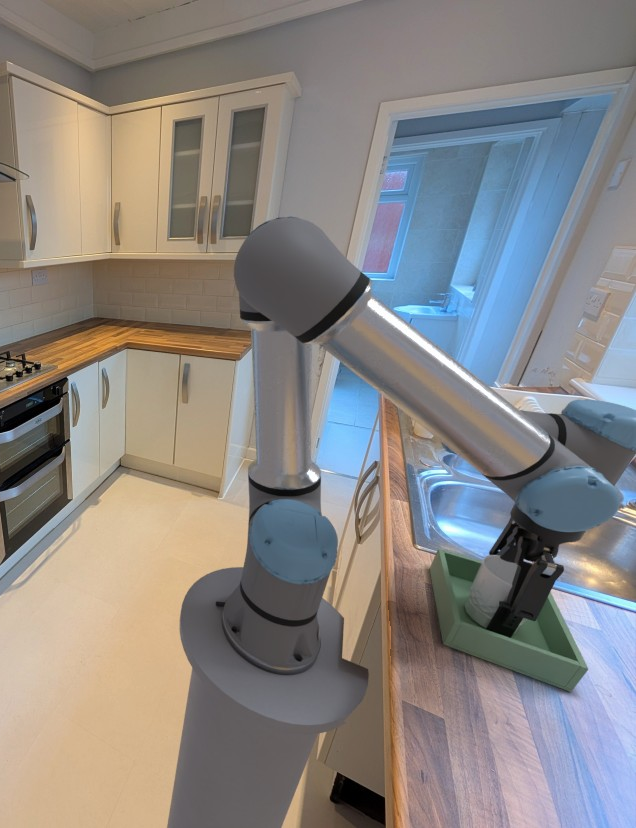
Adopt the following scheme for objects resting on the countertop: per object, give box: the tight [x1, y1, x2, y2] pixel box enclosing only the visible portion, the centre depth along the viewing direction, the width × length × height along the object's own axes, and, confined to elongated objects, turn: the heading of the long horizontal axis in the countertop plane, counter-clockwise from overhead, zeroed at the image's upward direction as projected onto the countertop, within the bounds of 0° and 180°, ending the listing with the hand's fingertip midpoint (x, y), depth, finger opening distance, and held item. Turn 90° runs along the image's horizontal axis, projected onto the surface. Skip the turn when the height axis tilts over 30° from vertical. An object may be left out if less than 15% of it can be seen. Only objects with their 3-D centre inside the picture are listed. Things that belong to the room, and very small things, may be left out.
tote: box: [428, 548, 589, 693], centre depth 70 cm, size 15×19×5 cm
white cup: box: [464, 554, 527, 634], centre depth 69 cm, size 8×8×10 cm
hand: (490, 616), depth 71 cm, fingers closed on white cup, 8 cm apart
